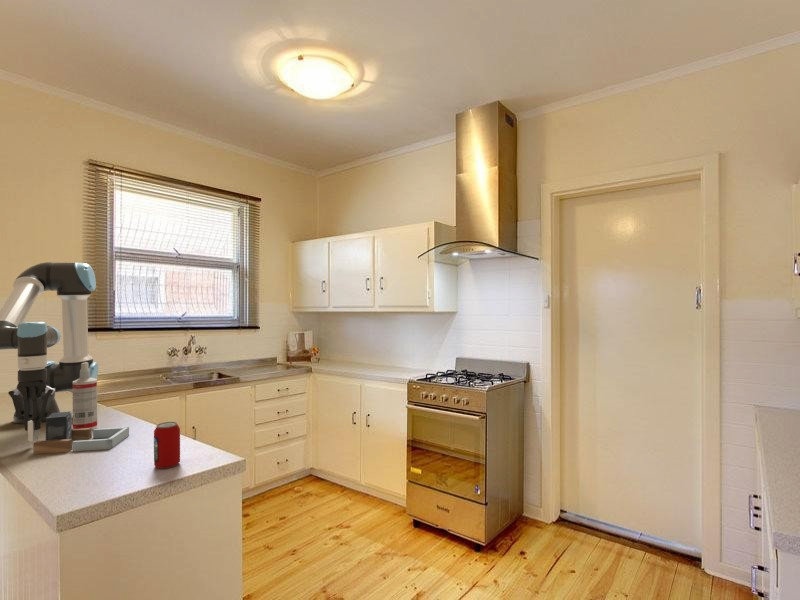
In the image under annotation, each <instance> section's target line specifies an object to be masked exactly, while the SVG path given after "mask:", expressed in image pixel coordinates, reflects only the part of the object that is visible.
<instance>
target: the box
mask: <svg viewBox="0 0 800 600" xmlns="http://www.w3.org/2000/svg"><path fill="white" fill-rule="evenodd" d="M72 429H73V411H60V412H58V413H52V414H51V415H50V416H48V417H47V418H46V421H45V440H61V439H72Z"/></svg>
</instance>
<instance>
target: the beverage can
mask: <svg viewBox="0 0 800 600" xmlns="http://www.w3.org/2000/svg"><path fill="white" fill-rule="evenodd" d="M180 462H181V428H180V426H179V424H178V422H177V421H166V422H161V423H158V424H156V427H155V429H154V430H153V465H154V466H155V467H156V468H158V469H163V470H164V469H171V468H174V467H176V466H177V465H178V464H179V463H180Z"/></svg>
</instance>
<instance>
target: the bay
mask: <svg viewBox="0 0 800 600" xmlns="http://www.w3.org/2000/svg"><path fill="white" fill-rule="evenodd" d="M92 434H93V435H92V438H93V439H88V440H72V452H81V451H82V452H83V451H95V450H96V451H97V450H99V451H100V450H111V449H113V448H114V447H116V446H117V445H118V444H120V443H121V442H122V441H123V440H125V439H126V438H128V437H129V436H130V427H129V426H127V427H126V426H125V427H107V428H106V427H105V428H95V429H93V430H92Z"/></svg>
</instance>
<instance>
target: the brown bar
mask: <svg viewBox="0 0 800 600" xmlns="http://www.w3.org/2000/svg"><path fill="white" fill-rule="evenodd" d="M92 434H93V430H92V428H80V429H73V428H72V439H61V440H46V439H45V440H37V441H36V440H35V441H33V443H32V445H33V448H32V449H33V455H38V454H54V453H64V452H65V453H68V452H69V453H70V452H71V451H73V441H80V440H91V439H92V438H93V435H92Z"/></svg>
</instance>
